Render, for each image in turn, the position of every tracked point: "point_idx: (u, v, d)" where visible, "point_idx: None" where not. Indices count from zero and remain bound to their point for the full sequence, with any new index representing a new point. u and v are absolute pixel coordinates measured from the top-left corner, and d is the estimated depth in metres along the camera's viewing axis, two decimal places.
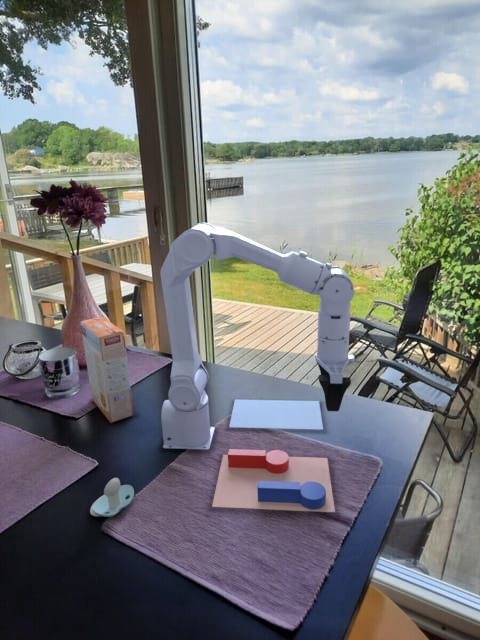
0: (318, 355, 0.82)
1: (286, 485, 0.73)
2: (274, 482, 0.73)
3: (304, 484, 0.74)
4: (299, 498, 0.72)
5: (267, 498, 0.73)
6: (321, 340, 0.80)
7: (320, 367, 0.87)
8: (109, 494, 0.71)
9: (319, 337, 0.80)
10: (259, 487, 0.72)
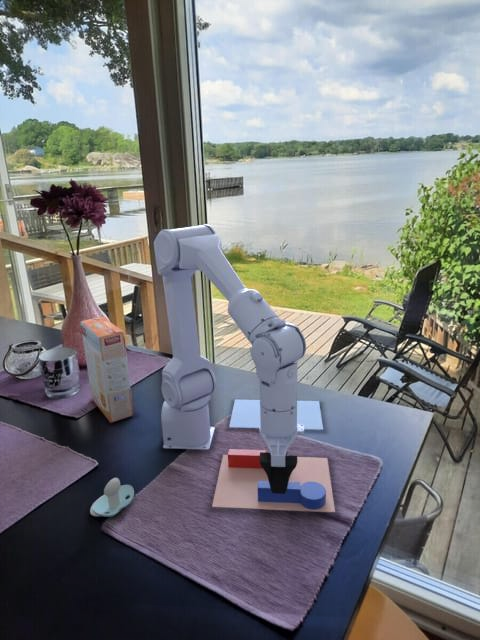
0: (261, 426, 0.68)
1: None
2: None
3: (304, 484, 0.74)
4: (299, 498, 0.72)
5: (267, 498, 0.73)
6: (263, 410, 0.67)
7: None
8: (109, 494, 0.71)
9: (261, 406, 0.67)
10: (259, 487, 0.72)
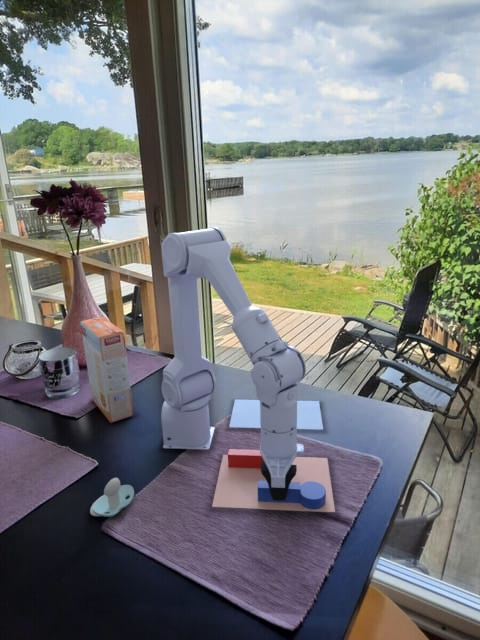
0: (261, 446, 0.70)
1: None
2: None
3: (304, 484, 0.74)
4: (299, 498, 0.72)
5: (267, 498, 0.73)
6: (263, 431, 0.68)
7: None
8: (109, 494, 0.71)
9: (261, 427, 0.68)
10: (259, 487, 0.72)
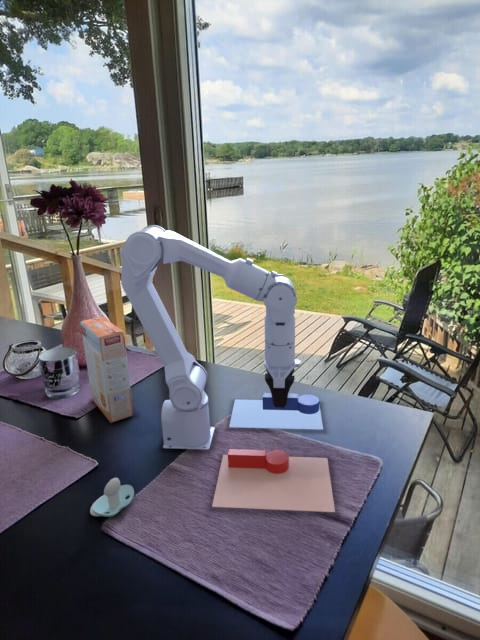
0: (265, 360, 0.84)
1: None
2: None
3: (301, 396, 0.88)
4: (297, 406, 0.87)
5: (270, 406, 0.87)
6: (267, 346, 0.82)
7: None
8: (109, 494, 0.71)
9: (265, 343, 0.83)
10: (264, 397, 0.87)
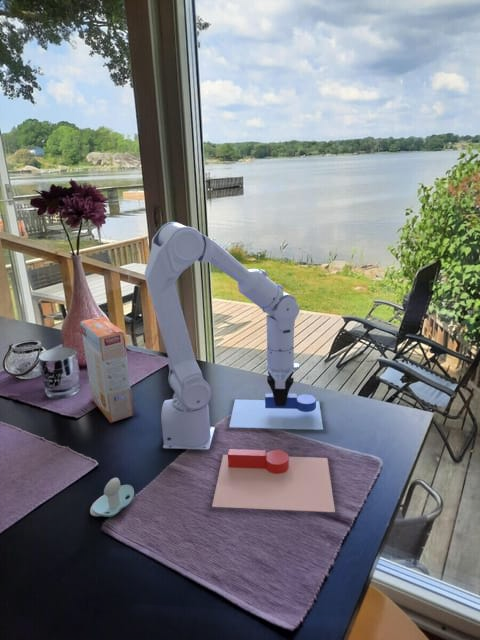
0: (267, 364, 0.94)
1: None
2: None
3: (300, 395, 0.99)
4: (296, 404, 0.97)
5: (272, 405, 0.98)
6: (269, 351, 0.93)
7: None
8: (109, 494, 0.71)
9: (268, 348, 0.93)
10: (266, 396, 0.97)
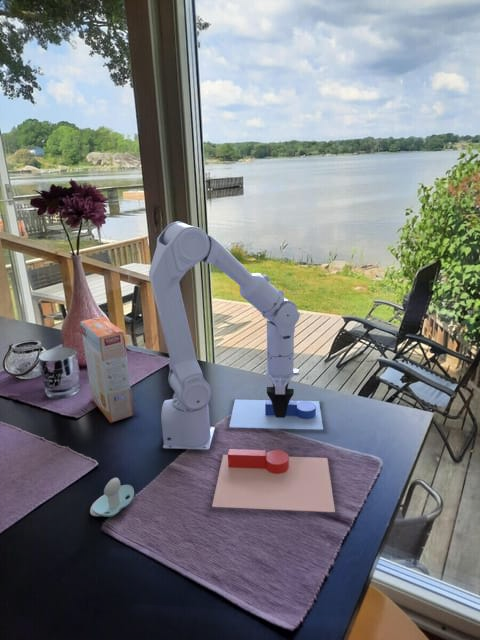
0: (267, 369, 0.95)
1: None
2: None
3: (300, 403, 0.99)
4: (296, 411, 0.98)
5: (272, 412, 0.98)
6: (269, 357, 0.93)
7: None
8: (109, 494, 0.71)
9: (268, 354, 0.93)
10: (266, 404, 0.98)
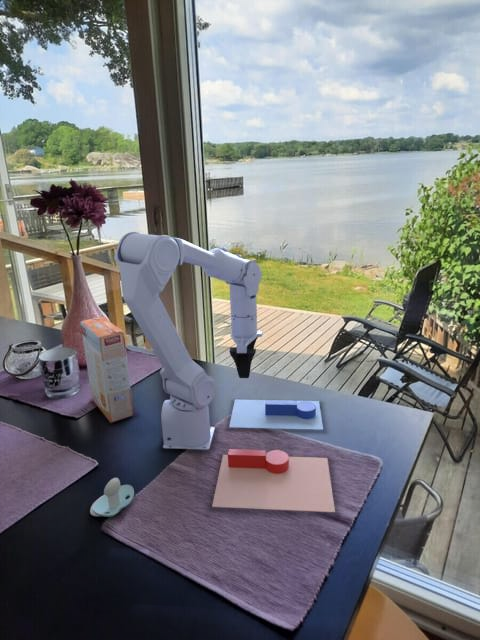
0: (231, 331, 0.97)
1: (286, 402, 0.98)
2: (277, 401, 0.99)
3: (300, 403, 0.99)
4: (296, 411, 0.98)
5: (272, 412, 0.98)
6: (232, 318, 0.95)
7: None
8: (109, 494, 0.71)
9: (231, 315, 0.96)
10: (266, 404, 0.98)
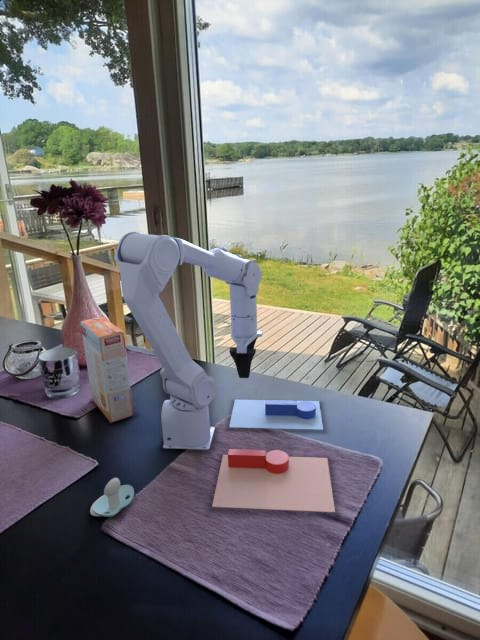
0: (231, 331, 0.97)
1: (286, 402, 0.98)
2: (277, 401, 0.99)
3: (300, 403, 0.99)
4: (296, 411, 0.98)
5: (272, 412, 0.98)
6: (232, 318, 0.95)
7: None
8: (109, 494, 0.71)
9: (231, 315, 0.96)
10: (266, 404, 0.98)
